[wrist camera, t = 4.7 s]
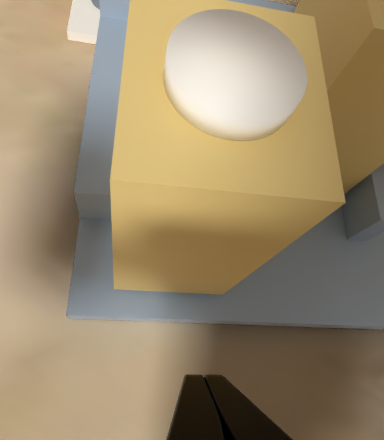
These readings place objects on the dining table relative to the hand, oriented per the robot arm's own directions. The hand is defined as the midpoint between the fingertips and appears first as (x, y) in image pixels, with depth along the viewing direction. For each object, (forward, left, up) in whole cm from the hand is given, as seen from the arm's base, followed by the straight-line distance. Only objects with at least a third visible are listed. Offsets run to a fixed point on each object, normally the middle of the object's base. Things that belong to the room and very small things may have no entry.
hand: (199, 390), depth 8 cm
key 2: (+3, +5, -6) cm, 8 cm away
